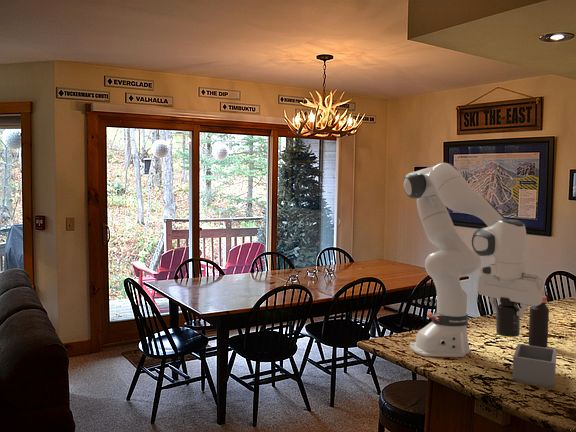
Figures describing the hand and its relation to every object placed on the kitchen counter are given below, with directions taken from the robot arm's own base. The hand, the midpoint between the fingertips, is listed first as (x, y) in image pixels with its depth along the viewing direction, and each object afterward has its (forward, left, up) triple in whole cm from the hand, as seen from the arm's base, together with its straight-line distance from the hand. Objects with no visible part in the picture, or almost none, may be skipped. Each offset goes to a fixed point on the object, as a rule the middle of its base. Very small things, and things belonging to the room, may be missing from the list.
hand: (507, 314), depth 162 cm
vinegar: (+36, +35, -23) cm, 56 cm away
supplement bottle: (0, 0, -7) cm, 7 cm away
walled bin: (+14, +5, -23) cm, 27 cm away
